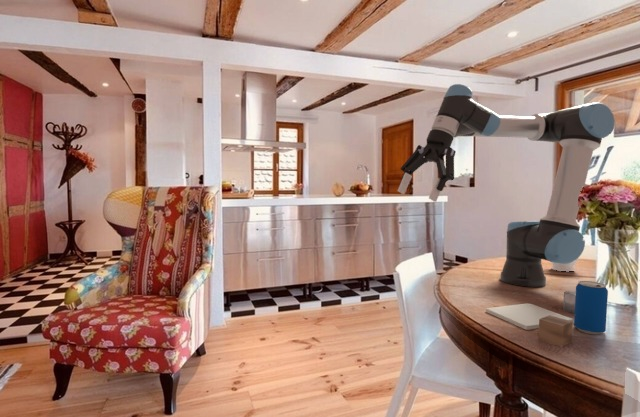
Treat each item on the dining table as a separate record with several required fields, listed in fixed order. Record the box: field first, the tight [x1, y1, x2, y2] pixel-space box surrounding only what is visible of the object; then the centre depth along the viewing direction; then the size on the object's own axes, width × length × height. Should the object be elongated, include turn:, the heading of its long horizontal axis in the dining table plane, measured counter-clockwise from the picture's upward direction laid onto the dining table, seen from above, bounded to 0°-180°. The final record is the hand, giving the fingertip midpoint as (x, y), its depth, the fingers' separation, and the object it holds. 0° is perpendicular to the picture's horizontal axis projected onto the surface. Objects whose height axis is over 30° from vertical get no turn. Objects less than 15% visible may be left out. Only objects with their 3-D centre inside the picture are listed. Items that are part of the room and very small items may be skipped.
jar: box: [551, 259, 578, 273], centre depth 160 cm, size 11×10×15 cm
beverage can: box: [573, 280, 609, 335], centre depth 93 cm, size 6×6×12 cm
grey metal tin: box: [562, 290, 576, 315], centre depth 108 cm, size 6×6×5 cm
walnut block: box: [537, 315, 574, 348], centre depth 87 cm, size 5×5×5 cm
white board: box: [485, 302, 574, 331], centre depth 103 cm, size 16×14×1 cm
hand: (415, 196), depth 115 cm, fingers open, 13 cm apart
